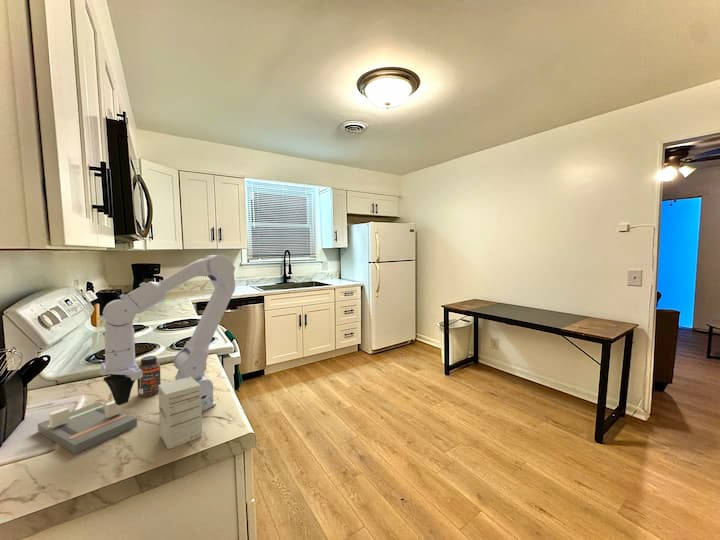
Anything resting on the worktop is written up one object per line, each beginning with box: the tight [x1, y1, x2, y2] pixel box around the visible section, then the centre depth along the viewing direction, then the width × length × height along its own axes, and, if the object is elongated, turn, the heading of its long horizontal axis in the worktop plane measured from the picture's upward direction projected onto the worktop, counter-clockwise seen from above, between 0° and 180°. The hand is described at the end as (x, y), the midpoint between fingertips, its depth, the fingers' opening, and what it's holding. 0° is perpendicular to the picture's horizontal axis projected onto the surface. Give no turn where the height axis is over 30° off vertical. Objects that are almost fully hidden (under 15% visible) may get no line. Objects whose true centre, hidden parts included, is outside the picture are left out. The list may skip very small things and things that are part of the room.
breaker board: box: [37, 401, 138, 455], centre depth 74 cm, size 19×12×2 cm, turn 64°
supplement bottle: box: [137, 355, 162, 398], centre depth 93 cm, size 6×6×11 cm
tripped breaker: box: [104, 400, 123, 418], centre depth 76 cm, size 2×3×3 cm, turn 154°
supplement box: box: [158, 377, 203, 450], centre depth 70 cm, size 7×7×13 cm
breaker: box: [48, 407, 70, 428], centre depth 71 cm, size 2×3×3 cm, turn 154°
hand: (122, 403), depth 74 cm, fingers closed
